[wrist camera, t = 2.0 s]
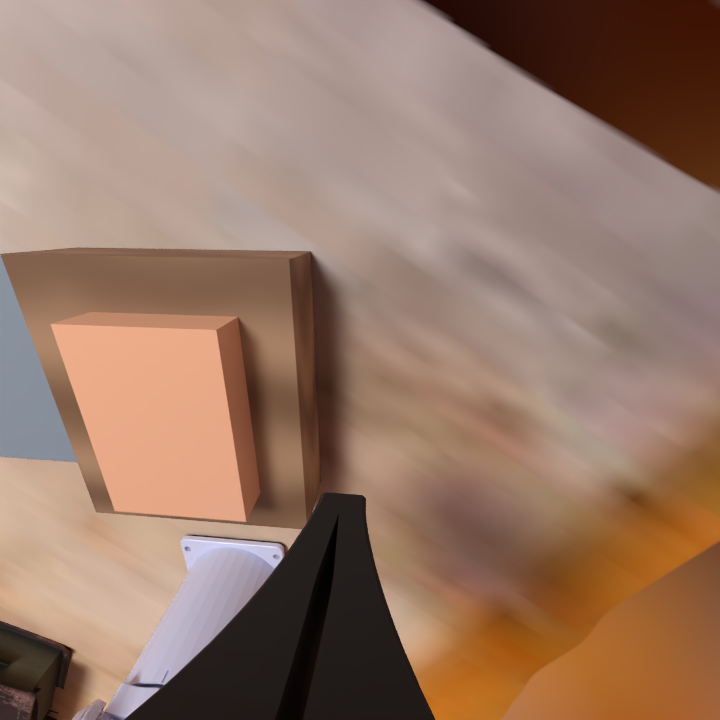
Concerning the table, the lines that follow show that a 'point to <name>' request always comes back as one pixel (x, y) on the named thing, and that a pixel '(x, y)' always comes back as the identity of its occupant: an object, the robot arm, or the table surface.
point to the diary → (29, 673)
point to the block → (165, 411)
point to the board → (203, 298)
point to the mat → (25, 390)
